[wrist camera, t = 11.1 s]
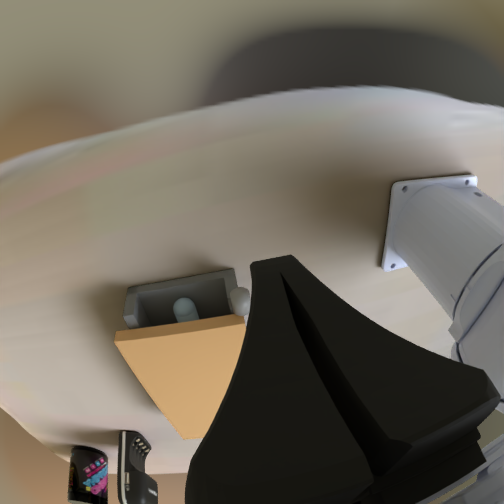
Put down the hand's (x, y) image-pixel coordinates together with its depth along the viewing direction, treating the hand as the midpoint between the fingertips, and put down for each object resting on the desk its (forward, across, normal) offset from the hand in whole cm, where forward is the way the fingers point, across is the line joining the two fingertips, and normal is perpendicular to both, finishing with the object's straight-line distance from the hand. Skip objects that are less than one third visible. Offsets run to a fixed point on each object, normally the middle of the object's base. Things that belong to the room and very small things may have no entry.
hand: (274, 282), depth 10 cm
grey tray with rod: (+10, +5, +17) cm, 21 cm away
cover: (+7, +5, +17) cm, 19 cm away
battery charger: (+11, +19, +34) cm, 40 cm away
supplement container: (+11, +31, +40) cm, 52 cm away
